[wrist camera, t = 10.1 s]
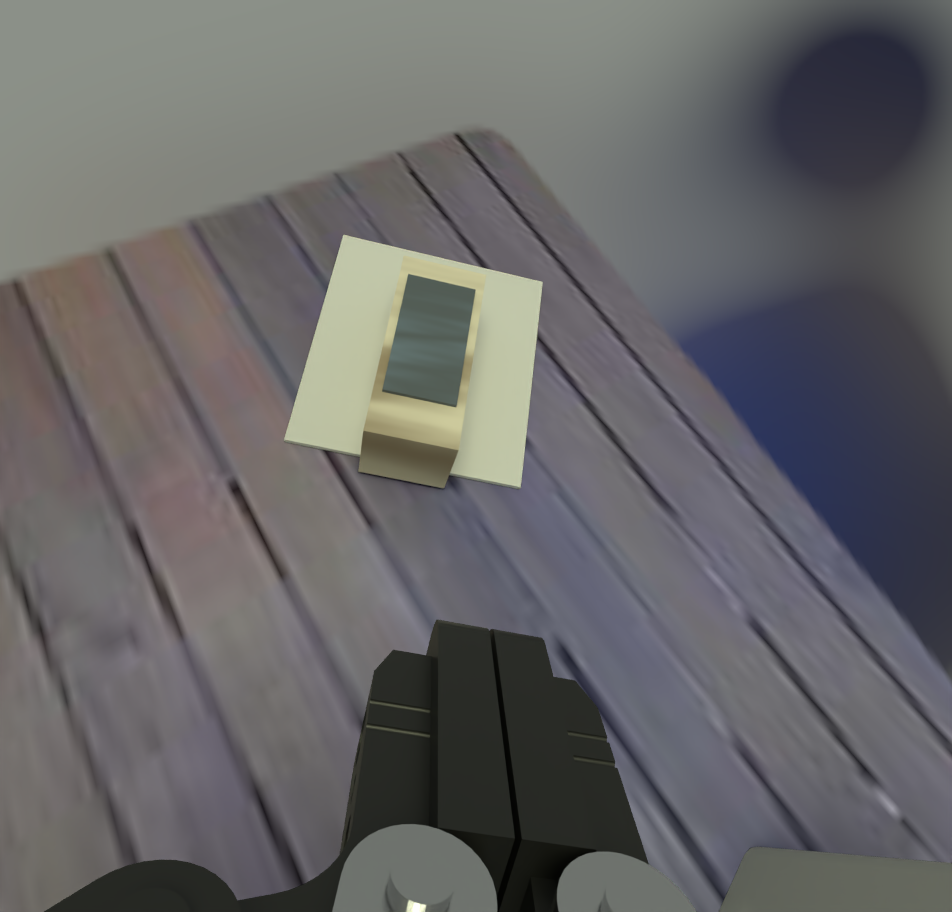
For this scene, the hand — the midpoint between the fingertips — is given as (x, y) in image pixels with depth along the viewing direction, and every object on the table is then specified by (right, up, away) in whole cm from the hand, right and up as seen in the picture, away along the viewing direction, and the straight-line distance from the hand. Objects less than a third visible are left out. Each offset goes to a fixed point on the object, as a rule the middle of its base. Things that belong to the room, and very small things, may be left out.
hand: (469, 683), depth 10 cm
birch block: (-4, +3, +29) cm, 29 cm away
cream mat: (-3, +10, +35) cm, 37 cm away
